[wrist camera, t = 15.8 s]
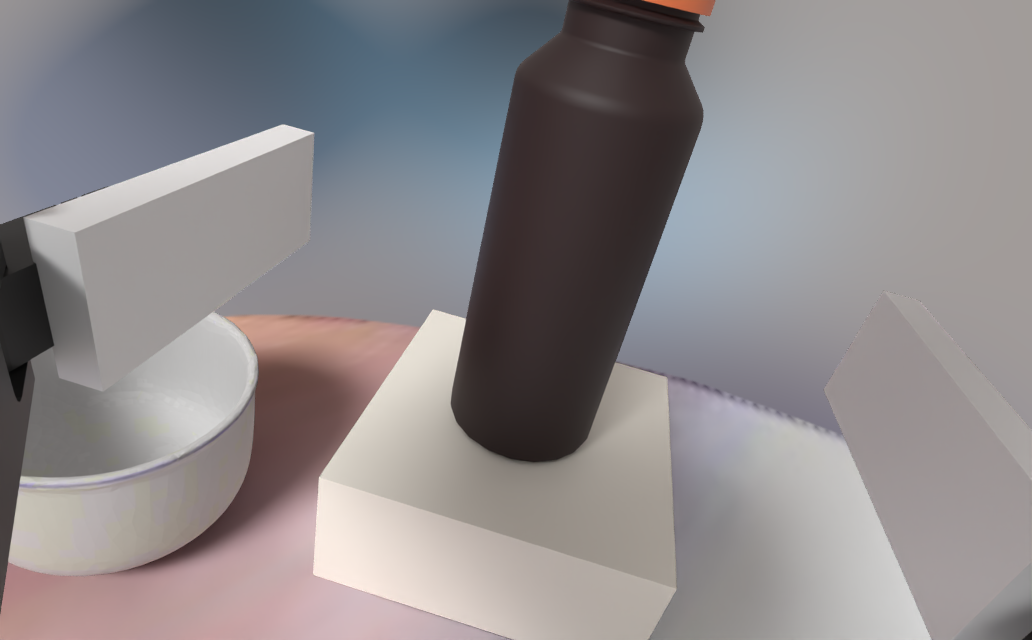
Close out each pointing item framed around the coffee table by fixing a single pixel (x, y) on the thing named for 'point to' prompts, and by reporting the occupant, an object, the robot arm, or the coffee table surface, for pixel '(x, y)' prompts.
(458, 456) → the riser
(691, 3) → the vinegar
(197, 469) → the teacup
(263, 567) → the coffee table surface
